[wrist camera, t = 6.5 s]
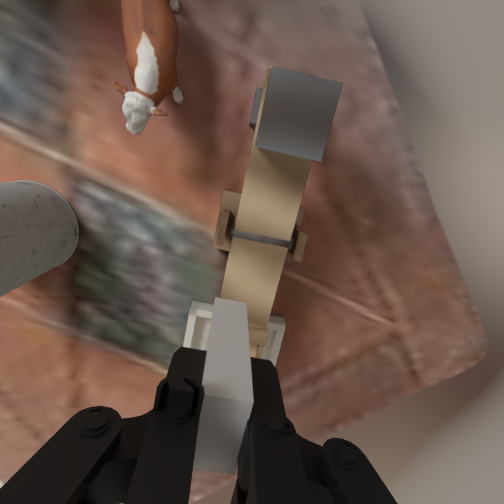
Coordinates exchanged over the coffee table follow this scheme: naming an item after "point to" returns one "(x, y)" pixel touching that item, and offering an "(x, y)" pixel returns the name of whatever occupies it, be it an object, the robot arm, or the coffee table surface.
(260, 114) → the lever
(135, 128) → the bull figurine
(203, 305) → the dish
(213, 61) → the coffee table surface
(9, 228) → the grey metal can
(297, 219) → the fulcrum
